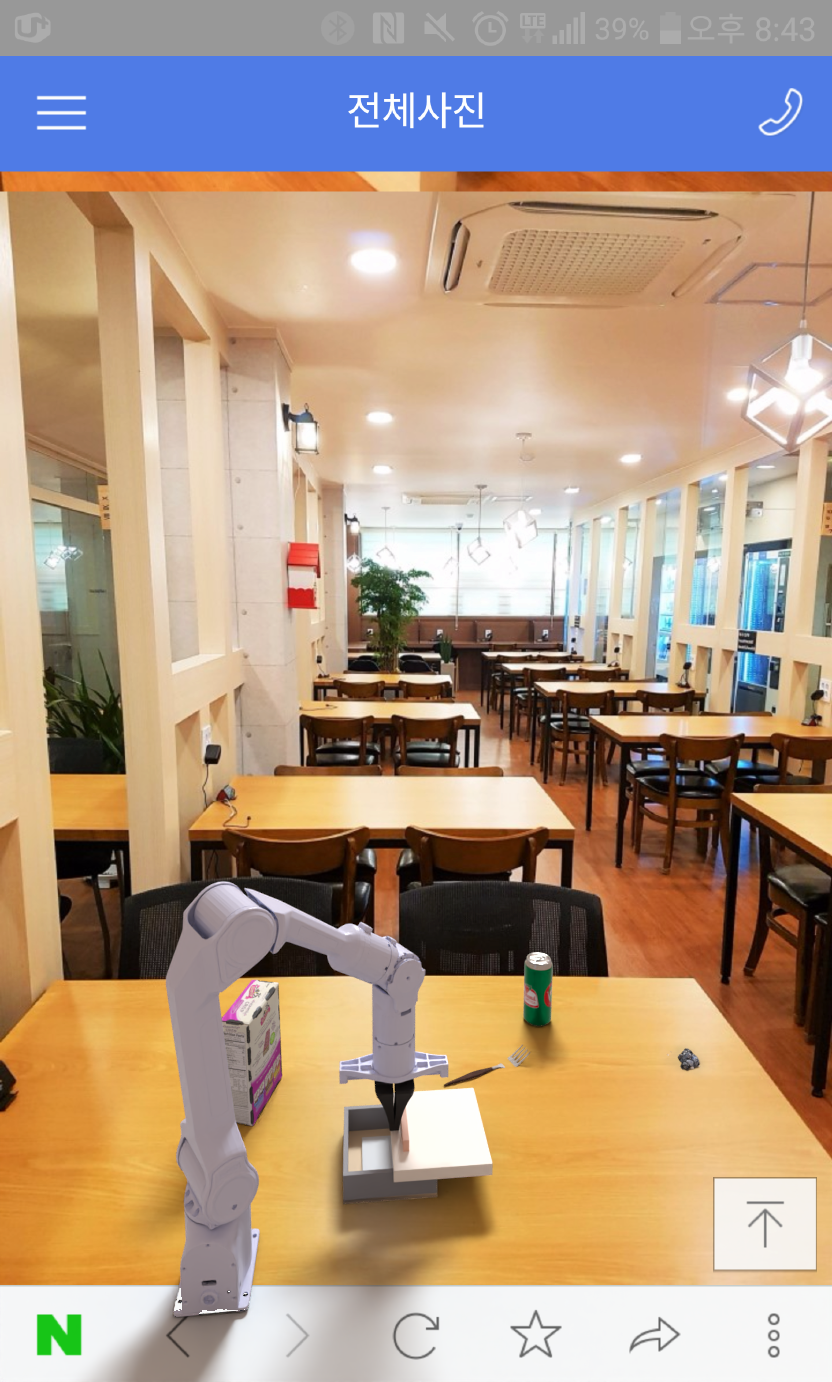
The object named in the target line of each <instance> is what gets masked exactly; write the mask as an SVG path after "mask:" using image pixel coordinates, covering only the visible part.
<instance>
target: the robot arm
mask: <svg viewBox="0 0 832 1382" xmlns="http://www.w3.org/2000/svg"><path fill="white" fill-rule="evenodd" d="M243 889H244V891H245V892H246V894H244V892H243V891H242V889H241V888H240V887H239V886H238V885H236V884H234V883H232V882H230V881H217V882H214V883H212V884H210V885H208V886H206V887H205V888H203V889H202V890H201V891H200V892H199V893H198V895H197V896H196V897H195V898H194V899H193V900H192V902H191V903H190V904H189V905H188V906H187V907H186V909H185V910H184V911H183V913H182V915H183V916H182V917H183V918H182V930H181V934H180V937H179V939H178V942H177V944H176V947H175V951H174V954H173V955H172V958H171V962H170V964H169V967H168V970H167V973H166V976H165V988H166V989H165V990H166V994H167V1002H168V1009H169V1016H170V1022H171V1030H172V1035H173V1042H174V1043H173V1044H174V1047H175V1048H174V1049H175V1056H176V1063H177V1070H178V1075H179V1076H178V1077H179V1083H180V1089H181V1096H182V1104H183V1109H184V1110H183V1112H184V1116H185V1118H183V1120H181V1122H180V1124H179V1125H180V1139H179V1143H178V1145H177V1148H176V1152H175V1154H176V1155H175V1159H176V1163H177V1166H178V1167H179V1169H180V1171H182V1172H183V1174H184V1176H185V1178H186V1182H187V1183H186V1185H185V1191H184V1198H183V1207H184V1226H185V1227H184V1228H185V1229H184V1230H185V1234H184V1235H185V1242H184V1247H183V1250H182V1255H181V1258H180V1266H179V1271H180V1272H179V1273H180V1280H179V1281H180V1282H179V1284H178V1285H179V1286H178V1288H181V1297H182V1310H181V1309H179V1310H180V1311H178V1310H176V1311H173V1310H172V1313H173V1312H174V1316H173V1317H175V1316H176V1318H178V1317H179V1318H180V1317H189V1316H190V1317H191V1316H200V1315H199V1313H200V1312H202V1310H207V1311H215V1310H217V1309H223V1310H225V1309H227V1310H238V1311H237V1312H241V1311H240V1310H244V1309H245V1311H247V1310H248V1309H249V1307H250V1303H249V1301H251V1296H250V1295H251V1293H252V1289H251V1288H253V1281H254V1275H255V1266H256V1260H257V1254H258V1248H259V1243H260V1242H259V1241H260V1234H261V1233H260V1229H259V1228H255V1227H254V1228H252V1207H251V1206H252V1205H251V1204H252V1203H253V1201H254V1199H255V1197H256V1195H257V1192H258V1190H259V1184H260V1178H259V1177H260V1176H259V1174H258V1170H257V1168H256V1167H254V1166H253V1164H252V1163H251V1162H250V1161H249V1159H248V1154H247V1153H248V1152H247V1149H246V1146H245V1143H244V1141H243V1138H242V1134H241V1131H240V1130H239V1127H238V1124H237V1123H236V1121H235V1114H234V1107H233V1099H232V1092H231V1084H230V1077H229V1069H228V1062H227V1054H226V1047H225V1039H224V1032H223V1024H222V1017H223V1016H222V1010H221V1003H220V993H223V992H225V990H227V989H228V988H229V987H231V985H233V983H235V982H236V981H237V980H239V979H240V978H241V977H242V976H243V975H245V974H246V973H247V972H249V971H250V970H251V969H252V968H253V967H255V966H256V965H257V964H258V963H259V962H260V961H261V960H263V959H264V958H265V956H266V955H267V954H268V953H269V952H270V953H271V954H272V955H274V954H277V953H278V952H279V951H280V949H282V947H283V946H284V945H285V943H291V944H293V945H296V946H299V947H302V948H305V949H308V950H311V951H313V952H316V953H319V954H321V955H322V954H323V955H326V956H327V962H328V963H329V966H330V967H331V968H332V969H333V970H334V971H337V972H339V973H342V974H345V975H347V976H350V977H351V978H354V979H357V980H359V981H363V982H364V983H367V984H370V985H371V996H372V997H371V1000H372V1001H371V1005H372V1007H371V1009H372V1011H371V1013H372V1014H371V1015H372V1021H371V1022H372V1024H371V1025H372V1031H371V1032H372V1034H371V1036H372V1039H371V1041H372V1053H369V1054H366V1055H362V1056H359V1057H356V1058H352V1059H347V1060H340V1061H339V1072H338V1073H339V1078H338V1079H339V1081H338V1082H339V1085H344V1084H348V1082H349V1081H355V1080H356V1081H357V1080H371V1081H373V1082H374V1092H375V1096H376V1098H377V1099H378V1101H379V1103H380V1104H382V1106H383V1108H384V1110H385V1113H386V1116H387V1119H388V1123H389V1130H390V1131H398V1130H399V1128H400V1122H401V1119H402V1115H403V1112H404V1110H405V1107H406V1105H407V1103H408V1102H409V1100H410V1098H411V1097H412V1096H413V1093H414V1092H415V1089H416V1088H415V1079H416V1078H419V1077H423V1076H435V1075H436V1076H438V1075H439V1077H440V1078H442V1079H444V1078H449V1061H448V1060H449V1059H448V1056H447V1054H434V1053H433V1054H432V1053H426V1052H422V1051H416V1005H417V1002H418V1000H419V997H418V995H419V990H420V988H421V987H422V984H423V983H424V980H425V977H426V969H425V968H423V967H422V962H421V960H420V958H419V956H418V955H416V954H415V953H414V952H412V951H410V950H409V949H408V948H406V947H404V946H403V945H401V944H400V943H398V942H397V940H396V939H395V938H393V937H392V936H389V935H385V936H380V935H378V934H376V933H373V929H374V928H372V927H371V926H370V925H368V924H367V923H364V922H362V921H360V922H359V924H358V925H356V924H353V923H345V924H344V925H341V926H340V927H338V928H337V927H334V926H332V925H330V924H328V923H326V922H324V921H322V920H321V919H318V918H316V917H315V916H313V915H311V914H308V913H306V912H304V911H302V910H300V909H299V908H296V907H294V906H292V905H290V904H288V903H286V902H283V900H280V899H277V898H274V897H272V896H269V895H267V894H264V893H263V892H262V893H261V892H260V891H257V890H255V889H252V888H248V887H247V888H246V887H244V888H243ZM228 1291H230V1292H228ZM244 1293H247V1294H248V1295H245V1296H243V1294H244ZM248 1306H249V1307H248ZM247 1308H248V1309H247ZM246 1309H247V1310H246Z"/></svg>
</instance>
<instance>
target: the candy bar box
mask: <svg viewBox="0 0 832 1382" xmlns="http://www.w3.org/2000/svg"><path fill="white" fill-rule="evenodd" d="M279 984H280V983H279V982H277V981H276V982H275V981H267V980H260V979H251V980H250V982H248V984H247V985H246V987H245V988H244V989H243V990H242V992H241V993H240V994H239V995H238V997H237V998H236V999H235V1000H234V1002H232V1004H231V1005H230V1006H229V1008H228V1009H227V1010H226V1012H224V1014H223V1016H221V1017H222V1024H223V1032H224V1039H225V1047H226V1054H227V1062H228V1069H229V1077H230V1084H231V1092H232V1099H233V1107H234V1114H235V1121H236V1124H237V1123H238V1124H239V1125H243V1124H244V1126H249V1127H253V1126H255V1125H256V1123H257V1120H258V1118H259V1117H260V1115H261V1113H263V1112H262V1111H263V1110H264V1108H265V1107H266V1105H267V1103H268V1101H269V1100H270V1098H271V1096H272V1094H273V1093H274V1091H275V1089H276V1087H277V1086H278V1084H279V1083H280V1081H281V1079H282V1077H283V1065H282V1063H283V1062H282V1040H281V1039H282V1037H281V1015H280V1014H281V1013H280V1012H281V1011H280V986H279ZM238 1124H237V1125H238Z"/></svg>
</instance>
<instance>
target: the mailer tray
mask: <svg viewBox="0 0 832 1382" xmlns="http://www.w3.org/2000/svg"><path fill="white" fill-rule="evenodd" d="M342 1156H343V1157H342V1158H343V1159H342V1160H343V1162H342V1190H343V1191H342V1200H343V1202H342V1203H343V1204H342V1205H351V1204H364V1203H365V1204H366V1203H379V1202H380V1203H381V1202H388V1201H389V1202H390V1201H393V1202H394V1201H402V1200H415V1199H416V1200H417V1199H428V1198H429V1199H430V1198H437V1197H438V1179H432V1180H418V1181H405V1182H394V1172H393V1158H392V1144H391V1131H390V1130H389V1123H388V1119H387V1116H386V1113H385V1110H384V1108H383V1106H382V1104H381V1103H380V1104H370V1105H366V1104H365V1105H353V1106H344V1107H343V1155H342Z"/></svg>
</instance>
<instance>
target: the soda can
mask: <svg viewBox="0 0 832 1382" xmlns="http://www.w3.org/2000/svg"><path fill="white" fill-rule="evenodd" d="M523 967H524V969H523V971H524V972H523V973H524V975H523V978H524V979H523V1006H522V1007H523V1009H522V1010H523V1011H522V1012H523V1013H522V1015H523V1019H524V1020H525V1021H526V1022H527V1024H529V1025H531V1026H533V1027H545V1026H546V1025H548V1024H549V1023H550V1022H551V1020H552V1007H553V1005H552V1002H553V1001H552V1000H553V973H554V972H553V969H554V968H553V967H554V966H553V962H552V959H551V957H550V956H549V955H548V954H546V953H543V952H531V953H529V954H527V956H526V959H525V960H524V966H523Z"/></svg>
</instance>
